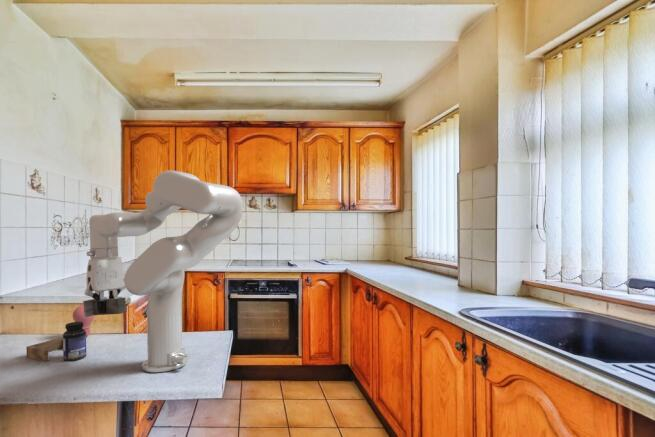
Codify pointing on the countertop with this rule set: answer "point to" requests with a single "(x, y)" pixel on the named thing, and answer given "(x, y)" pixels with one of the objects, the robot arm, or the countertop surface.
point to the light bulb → (83, 318)
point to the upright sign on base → (111, 306)
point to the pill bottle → (74, 342)
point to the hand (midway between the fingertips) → (106, 311)
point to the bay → (44, 349)
